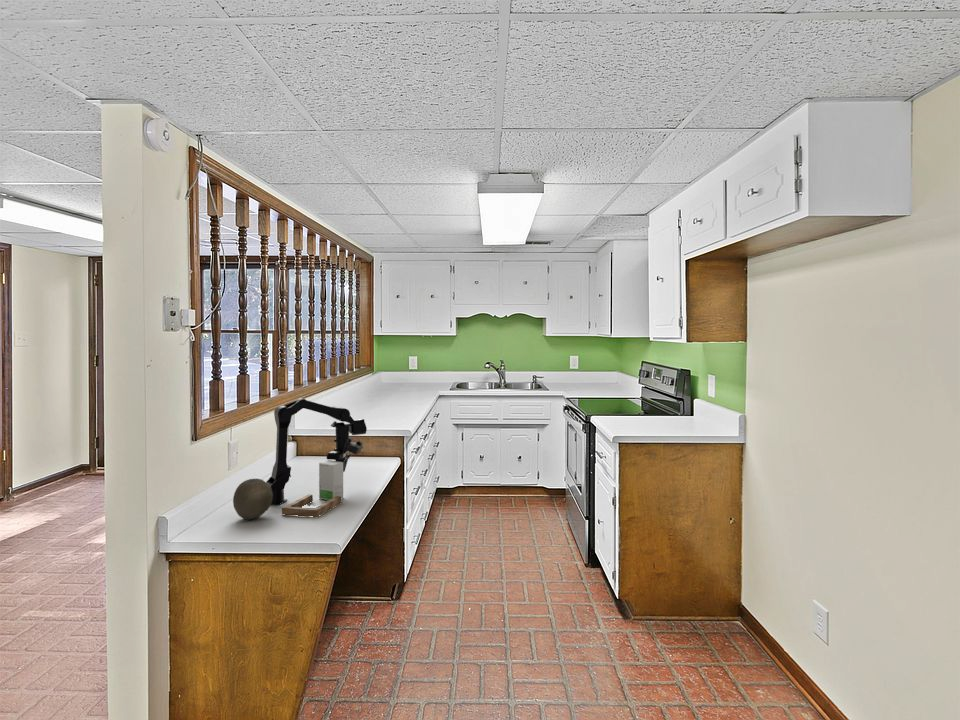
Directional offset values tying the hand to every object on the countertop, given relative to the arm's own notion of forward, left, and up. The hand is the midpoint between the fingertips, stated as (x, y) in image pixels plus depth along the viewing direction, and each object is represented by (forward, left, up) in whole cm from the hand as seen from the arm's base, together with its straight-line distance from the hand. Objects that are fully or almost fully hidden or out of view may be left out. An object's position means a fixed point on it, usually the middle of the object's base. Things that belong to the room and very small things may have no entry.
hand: (343, 471), depth 268 cm
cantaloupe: (-42, +16, -9) cm, 46 cm away
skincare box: (-11, 0, -9) cm, 14 cm away
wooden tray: (-26, 0, -9) cm, 27 cm away
